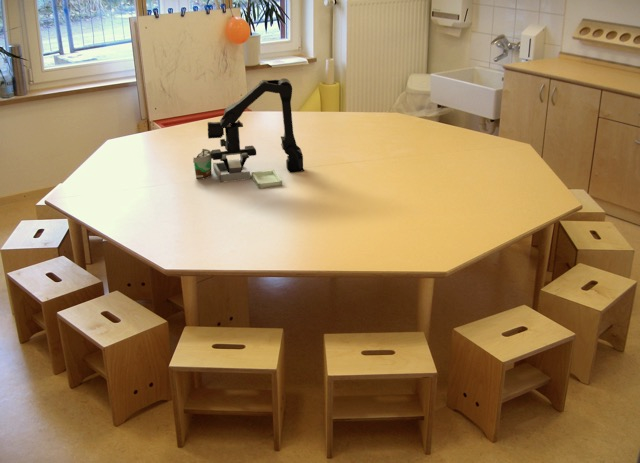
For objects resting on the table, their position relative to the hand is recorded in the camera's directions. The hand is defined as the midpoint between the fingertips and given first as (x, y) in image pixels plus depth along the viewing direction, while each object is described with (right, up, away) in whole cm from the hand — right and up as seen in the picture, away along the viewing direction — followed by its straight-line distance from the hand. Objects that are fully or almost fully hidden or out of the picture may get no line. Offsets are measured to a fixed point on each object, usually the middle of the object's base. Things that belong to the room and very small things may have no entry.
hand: (234, 171), depth 329 cm
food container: (-12, -2, -1) cm, 12 cm away
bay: (-1, -1, 0) cm, 2 cm away
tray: (+14, -5, -8) cm, 17 cm away
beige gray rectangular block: (0, -1, 0) cm, 1 cm away
